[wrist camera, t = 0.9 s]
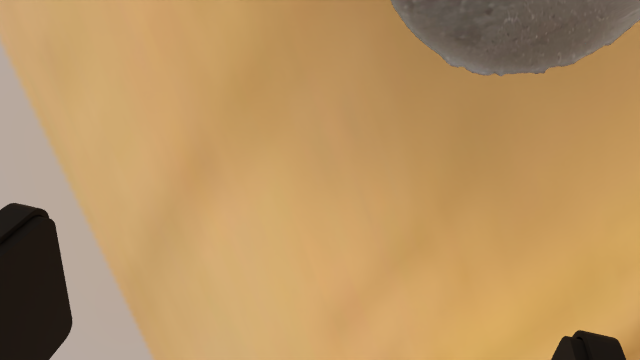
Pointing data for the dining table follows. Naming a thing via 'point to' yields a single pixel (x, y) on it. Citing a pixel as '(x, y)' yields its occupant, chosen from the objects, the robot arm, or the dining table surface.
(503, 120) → the dining table surface
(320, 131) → the dining table surface
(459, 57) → the pillar candle
